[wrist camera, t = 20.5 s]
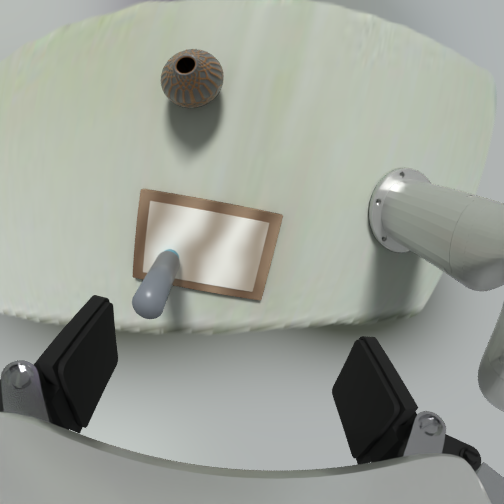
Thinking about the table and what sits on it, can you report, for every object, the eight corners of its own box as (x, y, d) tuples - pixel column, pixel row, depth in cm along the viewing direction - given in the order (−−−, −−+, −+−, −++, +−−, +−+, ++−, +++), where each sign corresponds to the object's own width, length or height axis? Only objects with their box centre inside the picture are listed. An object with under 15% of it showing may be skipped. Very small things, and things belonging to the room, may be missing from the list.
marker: (182, 249, 35) (164, 294, 24) (180, 270, 36) (162, 321, 24) (160, 245, 34) (132, 287, 23) (158, 266, 35) (132, 315, 24)
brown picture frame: (281, 214, 36) (283, 216, 34) (260, 297, 39) (261, 301, 38) (143, 188, 33) (140, 189, 32) (134, 274, 37) (132, 277, 35)
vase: (219, 57, 28) (216, 29, 20) (228, 105, 30) (227, 89, 22) (165, 69, 28) (146, 45, 20) (172, 117, 30) (154, 105, 22)
